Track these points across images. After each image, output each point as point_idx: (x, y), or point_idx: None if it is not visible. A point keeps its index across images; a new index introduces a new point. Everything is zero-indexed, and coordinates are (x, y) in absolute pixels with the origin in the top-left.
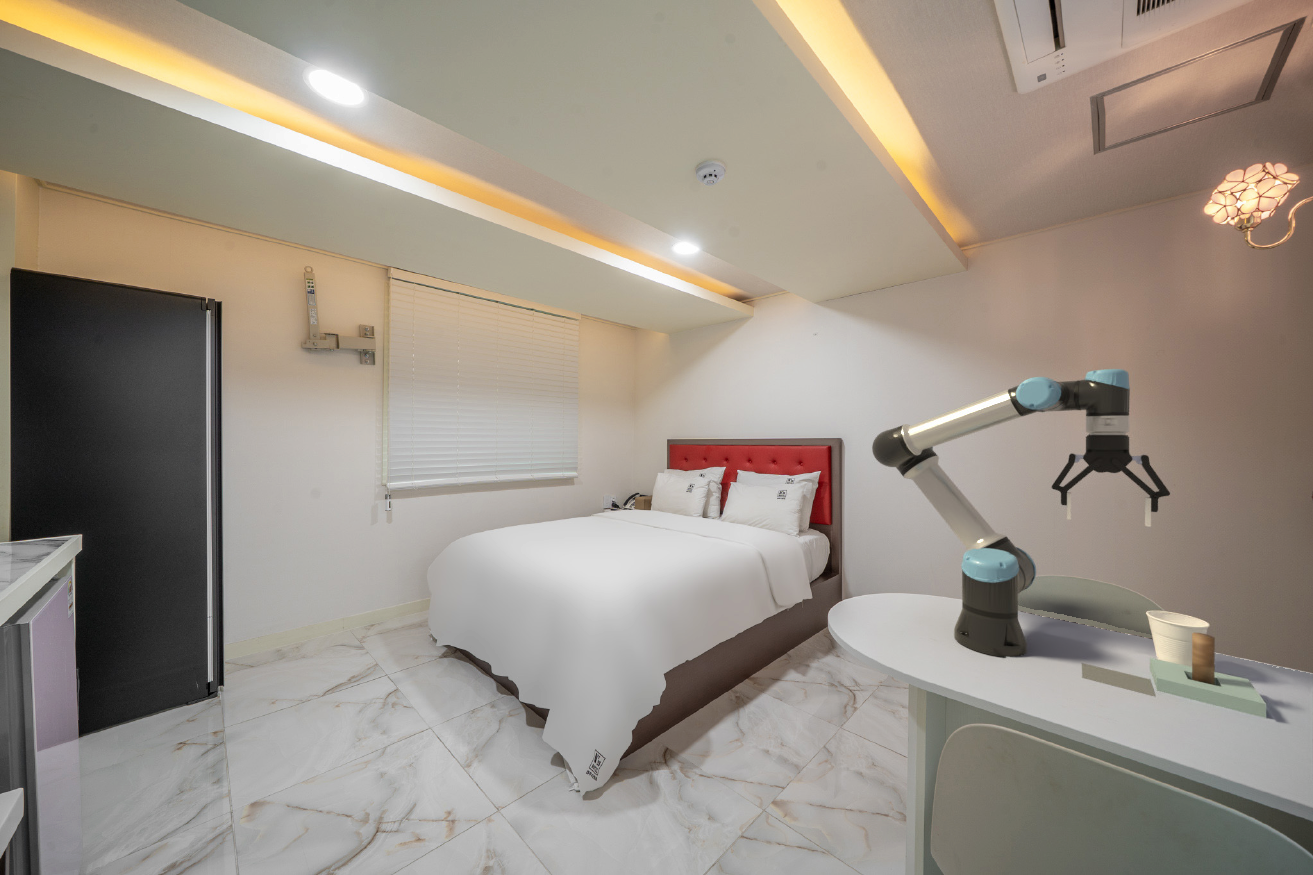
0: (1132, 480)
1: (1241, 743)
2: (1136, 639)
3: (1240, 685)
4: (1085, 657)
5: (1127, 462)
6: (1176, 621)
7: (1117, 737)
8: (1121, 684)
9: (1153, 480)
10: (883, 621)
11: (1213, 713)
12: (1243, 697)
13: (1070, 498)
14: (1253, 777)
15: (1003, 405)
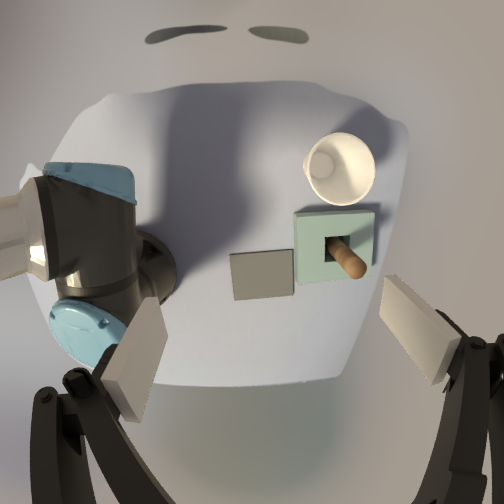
0: (427, 467)
1: (334, 330)
2: (281, 88)
3: (364, 241)
4: (230, 224)
5: None
6: (339, 137)
7: (263, 379)
8: (267, 289)
9: (490, 434)
10: (50, 286)
11: (330, 289)
12: None
13: (144, 402)
14: (326, 368)
15: None
